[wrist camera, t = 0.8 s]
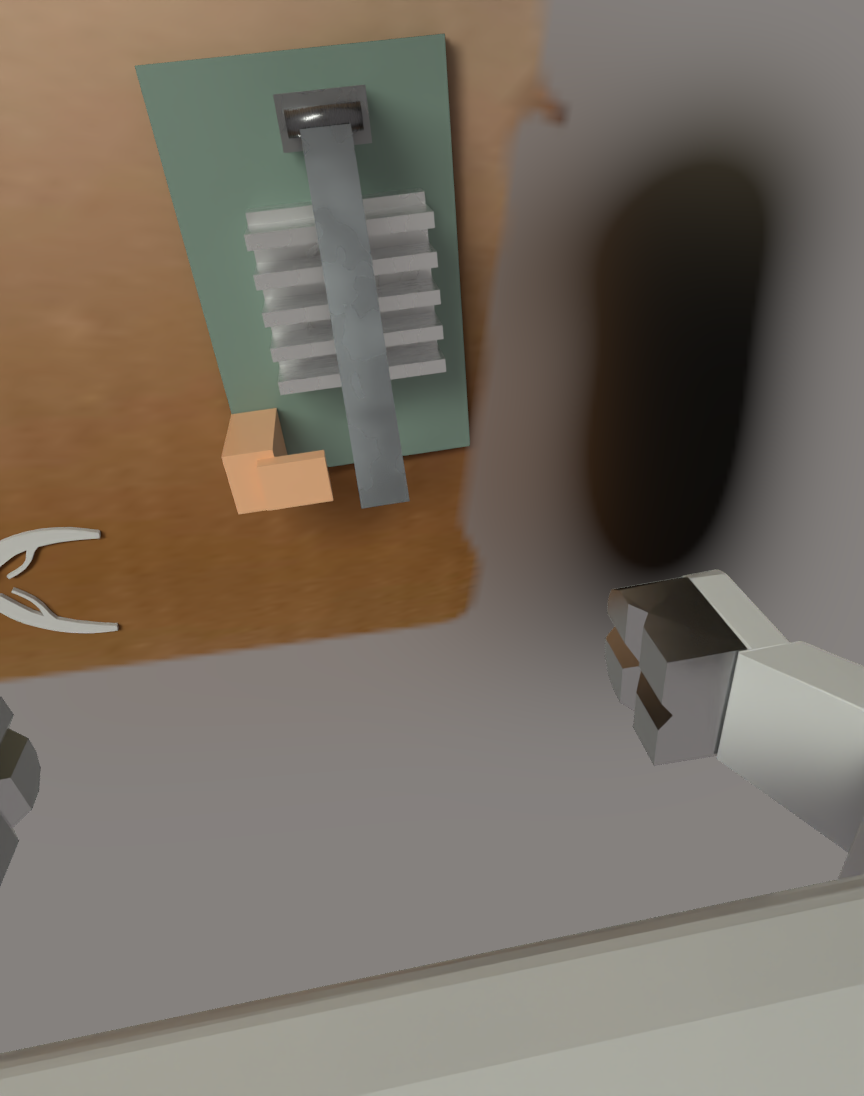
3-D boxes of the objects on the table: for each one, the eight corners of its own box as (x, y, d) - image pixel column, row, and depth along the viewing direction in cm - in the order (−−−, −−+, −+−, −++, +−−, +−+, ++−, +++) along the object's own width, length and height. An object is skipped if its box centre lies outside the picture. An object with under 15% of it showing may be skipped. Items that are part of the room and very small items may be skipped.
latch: (231, 414, 45) (219, 464, 39) (320, 401, 45) (323, 449, 39) (246, 467, 47) (237, 522, 41) (331, 454, 48) (334, 507, 42)
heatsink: (223, 99, 35) (213, 101, 32) (410, 79, 36) (423, 78, 32) (284, 376, 44) (282, 404, 40) (434, 355, 45) (446, 381, 41)
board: (138, 66, 35) (134, 65, 34) (441, 35, 36) (444, 33, 35) (250, 472, 49) (249, 478, 48) (467, 439, 50) (470, 445, 49)
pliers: (115, 639, 54) (-97, 644, 51) (120, 626, 55) (-87, 630, 52) (95, 536, 48) (-144, 534, 46) (100, 524, 50) (-131, 522, 47)
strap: (285, 117, 32) (282, 103, 31) (359, 109, 33) (359, 95, 32) (350, 509, 34) (349, 510, 33) (420, 499, 34) (421, 499, 33)
